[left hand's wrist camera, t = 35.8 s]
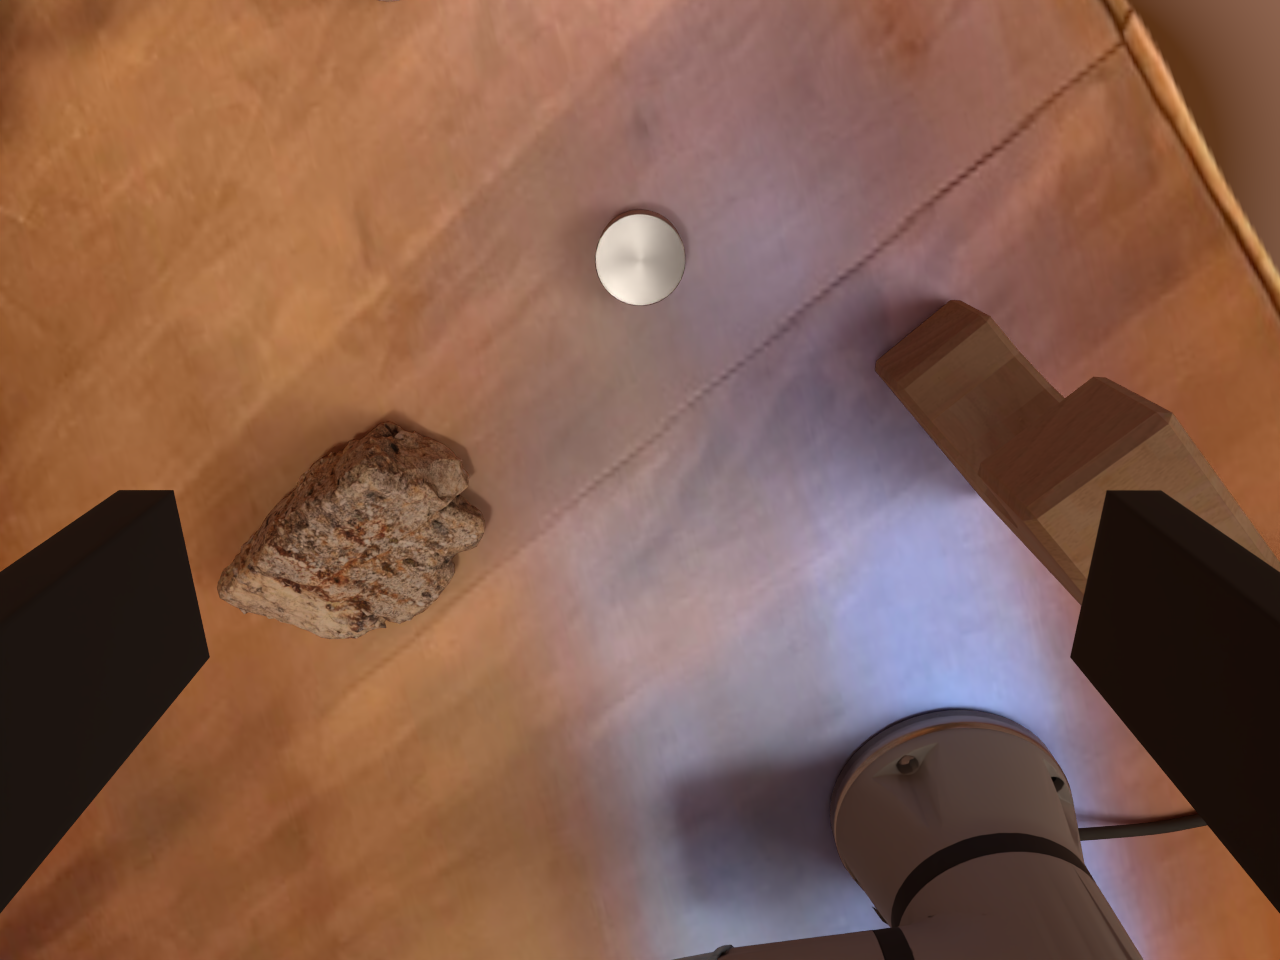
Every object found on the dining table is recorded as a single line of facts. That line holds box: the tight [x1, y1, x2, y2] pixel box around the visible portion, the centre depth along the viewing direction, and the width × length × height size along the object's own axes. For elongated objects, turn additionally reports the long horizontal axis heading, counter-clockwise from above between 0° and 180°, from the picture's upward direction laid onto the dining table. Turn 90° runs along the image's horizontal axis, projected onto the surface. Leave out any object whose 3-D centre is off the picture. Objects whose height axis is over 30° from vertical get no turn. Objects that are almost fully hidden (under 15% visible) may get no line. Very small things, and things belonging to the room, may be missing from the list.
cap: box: [595, 210, 685, 306], centre depth 43 cm, size 4×4×2 cm
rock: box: [217, 422, 485, 639], centre depth 48 cm, size 15×10×6 cm
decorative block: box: [875, 300, 1280, 606], centre depth 38 cm, size 11×6×20 cm, turn 41°
